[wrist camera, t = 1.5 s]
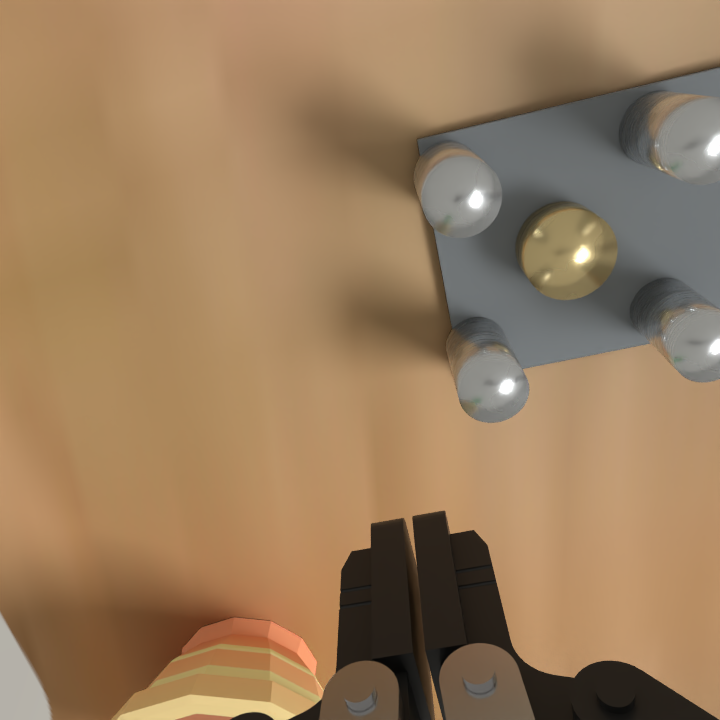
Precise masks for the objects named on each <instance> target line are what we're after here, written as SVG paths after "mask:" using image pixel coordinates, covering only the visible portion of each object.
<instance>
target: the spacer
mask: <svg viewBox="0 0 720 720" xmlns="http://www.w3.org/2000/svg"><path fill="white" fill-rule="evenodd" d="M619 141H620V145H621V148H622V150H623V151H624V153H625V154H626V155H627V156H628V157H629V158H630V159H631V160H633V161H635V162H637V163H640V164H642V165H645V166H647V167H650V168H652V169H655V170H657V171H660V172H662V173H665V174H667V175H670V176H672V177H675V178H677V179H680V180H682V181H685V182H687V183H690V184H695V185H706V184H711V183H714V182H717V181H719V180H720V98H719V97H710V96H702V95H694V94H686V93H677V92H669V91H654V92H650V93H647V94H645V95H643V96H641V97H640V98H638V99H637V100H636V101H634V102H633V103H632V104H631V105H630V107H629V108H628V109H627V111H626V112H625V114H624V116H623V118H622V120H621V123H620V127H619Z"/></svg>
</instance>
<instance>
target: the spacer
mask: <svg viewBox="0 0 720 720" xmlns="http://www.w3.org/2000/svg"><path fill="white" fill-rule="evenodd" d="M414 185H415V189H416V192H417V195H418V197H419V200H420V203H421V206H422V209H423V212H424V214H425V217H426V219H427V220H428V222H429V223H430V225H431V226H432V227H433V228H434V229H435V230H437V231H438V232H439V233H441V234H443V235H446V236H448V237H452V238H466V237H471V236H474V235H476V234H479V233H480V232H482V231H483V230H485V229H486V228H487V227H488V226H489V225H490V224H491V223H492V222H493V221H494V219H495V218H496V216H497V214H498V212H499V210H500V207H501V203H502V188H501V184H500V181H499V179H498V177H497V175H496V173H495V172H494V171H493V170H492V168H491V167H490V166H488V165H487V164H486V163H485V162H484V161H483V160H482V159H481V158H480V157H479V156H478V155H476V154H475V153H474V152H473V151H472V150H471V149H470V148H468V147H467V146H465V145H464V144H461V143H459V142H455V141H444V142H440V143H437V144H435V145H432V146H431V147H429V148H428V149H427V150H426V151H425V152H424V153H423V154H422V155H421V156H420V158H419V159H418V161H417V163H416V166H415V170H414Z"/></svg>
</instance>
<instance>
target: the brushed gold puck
mask: <svg viewBox="0 0 720 720" xmlns="http://www.w3.org/2000/svg"><path fill="white" fill-rule="evenodd" d="M515 251H516V258H517V261H518V264H519V266H520V268H521V270H522V271H523V272H524V274H525V275H526V276H527V278H528V279H529V281H530V282H531V283H532V285H533V286H534V287H535V288H536V289H537V290H538V291H539V292H540V293H542V294H544V295H545V296H547V297H550V298H553V299H557V300H572V299H577V298H581V297H583V296H586V295H588V294H590V293H592V292H593V291H595V290H596V289H598V288H599V287H600V286H601V285H602V284H603V283H604V282H605V281H606V280H607V278H608V277H609V276H610V274H611V272H612V270H613V268H614V266H615V263H616V259H617V253H618V247H617V240H616V237H615V234H614V232H613V230H612V229H611V227H610V226H609V224H608V223H607V222H606V221H605V220H603V219H602V218H601V217H599V216H598V215H596V214H595V213H594V212H592V211H591V210H589V209H588V208H586V207H585V206H583V205H581V204H578V203H575V202H569V201H559V202H554V203H550V204H547V205H545V206H543V207H541V208H539V209H538V210H536V211H535V212H534V213H532V214H531V215H530V216H529V217H528V218H527V220H526V221H525V222H524V223H523V225H522V227H521V229H520V231H519V233H518V236H517V239H516V246H515Z"/></svg>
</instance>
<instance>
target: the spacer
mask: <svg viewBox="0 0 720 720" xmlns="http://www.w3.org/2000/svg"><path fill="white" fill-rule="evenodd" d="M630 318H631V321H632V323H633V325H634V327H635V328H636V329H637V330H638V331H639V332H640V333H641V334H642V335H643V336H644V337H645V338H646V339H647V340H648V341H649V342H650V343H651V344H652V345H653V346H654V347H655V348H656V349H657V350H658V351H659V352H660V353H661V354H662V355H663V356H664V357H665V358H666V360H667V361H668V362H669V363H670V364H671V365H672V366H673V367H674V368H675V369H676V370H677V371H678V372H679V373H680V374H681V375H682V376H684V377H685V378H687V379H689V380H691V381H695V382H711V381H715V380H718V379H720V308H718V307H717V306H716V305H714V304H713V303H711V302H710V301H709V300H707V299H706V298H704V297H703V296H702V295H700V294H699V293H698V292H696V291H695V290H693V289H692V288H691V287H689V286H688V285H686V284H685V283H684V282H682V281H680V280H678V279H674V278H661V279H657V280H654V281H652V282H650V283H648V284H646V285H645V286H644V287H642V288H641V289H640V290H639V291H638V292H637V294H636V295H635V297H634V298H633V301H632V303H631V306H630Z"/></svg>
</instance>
